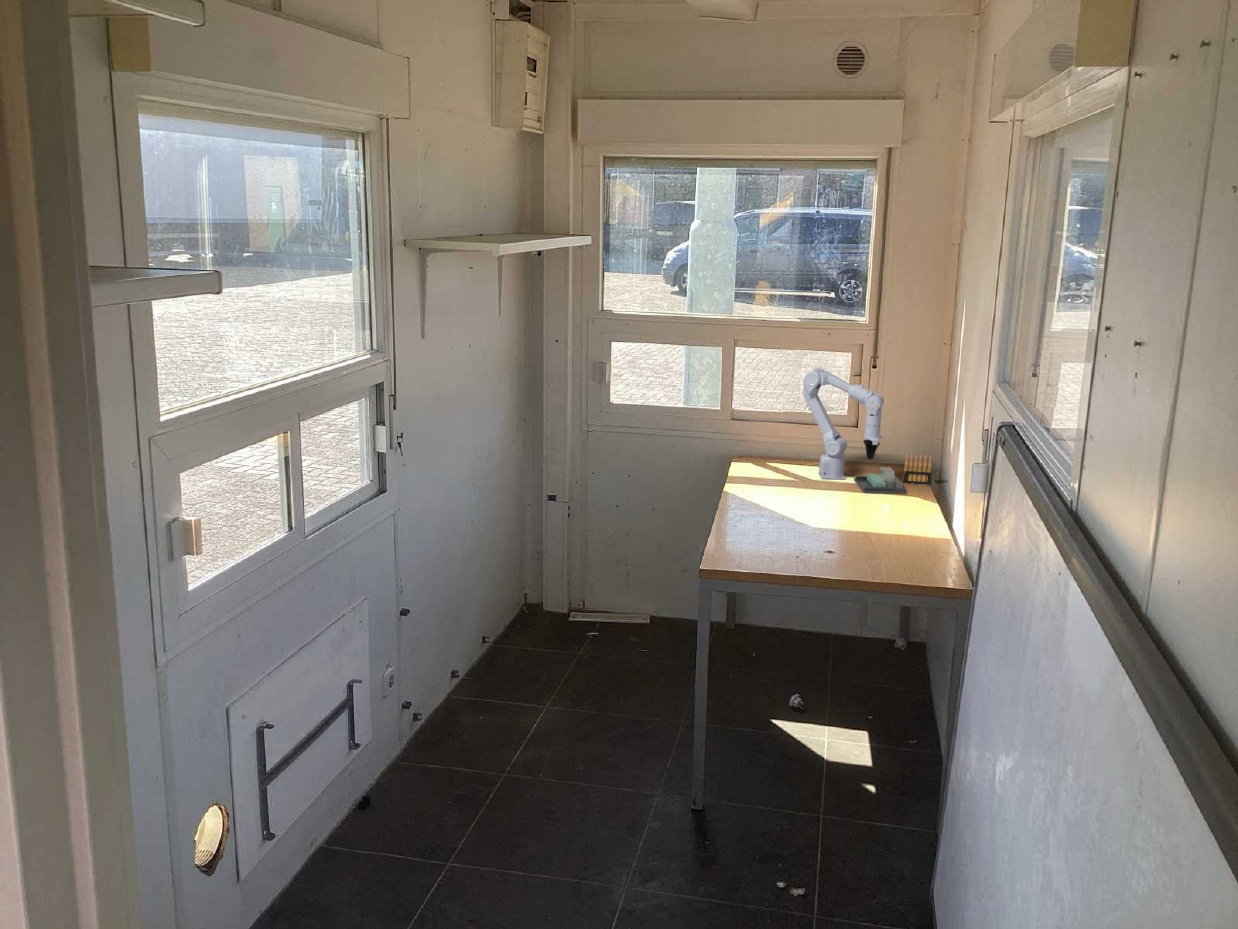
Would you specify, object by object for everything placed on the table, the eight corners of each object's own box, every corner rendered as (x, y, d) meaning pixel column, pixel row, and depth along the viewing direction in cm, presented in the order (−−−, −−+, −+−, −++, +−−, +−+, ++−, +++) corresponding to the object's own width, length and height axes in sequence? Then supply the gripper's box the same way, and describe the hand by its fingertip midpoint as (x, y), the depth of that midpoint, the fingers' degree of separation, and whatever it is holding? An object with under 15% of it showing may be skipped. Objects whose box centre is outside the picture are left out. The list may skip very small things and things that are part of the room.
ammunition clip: (902, 483, 424) (905, 453, 421) (902, 482, 426) (905, 452, 422) (931, 485, 422) (933, 455, 419) (930, 484, 424) (933, 454, 421)
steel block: (883, 486, 415) (884, 471, 413) (878, 481, 421) (879, 467, 420) (893, 487, 415) (894, 471, 413) (888, 482, 421) (890, 467, 420)
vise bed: (864, 493, 409) (864, 484, 408) (854, 480, 427) (854, 472, 426) (906, 493, 409) (907, 485, 408) (894, 481, 427) (895, 472, 426)
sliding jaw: (874, 488, 411) (875, 483, 410) (866, 478, 424) (867, 473, 424) (885, 488, 411) (885, 483, 410) (876, 479, 424) (877, 473, 424)
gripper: (887, 429, 412) (884, 463, 416) (879, 421, 426) (876, 454, 430) (868, 428, 412) (865, 463, 416) (861, 420, 426) (858, 453, 430)
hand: (869, 458), depth 423 cm, fingers closed
